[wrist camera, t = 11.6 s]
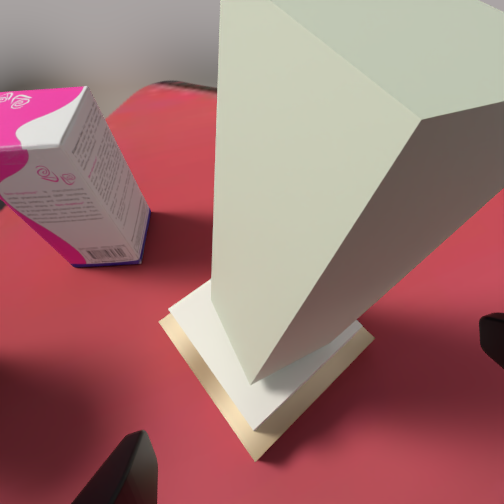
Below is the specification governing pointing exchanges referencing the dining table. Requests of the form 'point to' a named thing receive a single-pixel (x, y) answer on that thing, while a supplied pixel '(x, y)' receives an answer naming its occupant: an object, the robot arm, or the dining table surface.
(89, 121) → the supplement box
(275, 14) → the tall block
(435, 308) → the dining table surface
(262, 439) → the tower base slab
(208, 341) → the tower top slab
